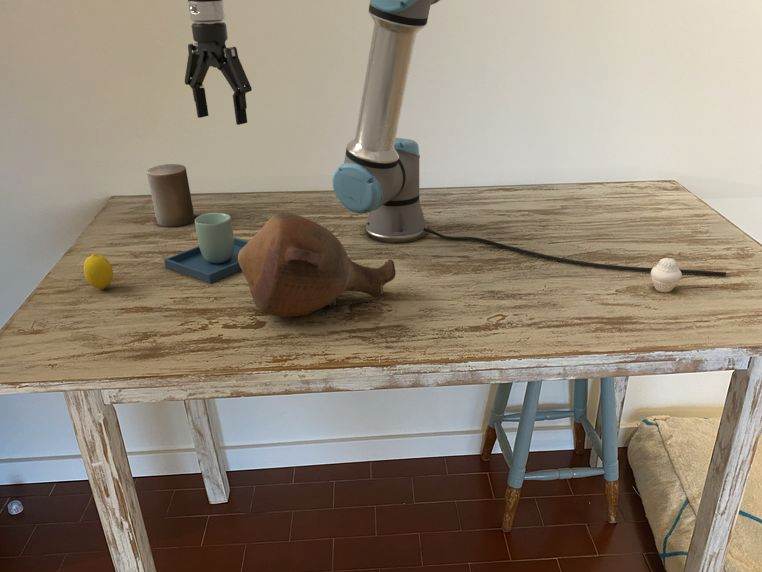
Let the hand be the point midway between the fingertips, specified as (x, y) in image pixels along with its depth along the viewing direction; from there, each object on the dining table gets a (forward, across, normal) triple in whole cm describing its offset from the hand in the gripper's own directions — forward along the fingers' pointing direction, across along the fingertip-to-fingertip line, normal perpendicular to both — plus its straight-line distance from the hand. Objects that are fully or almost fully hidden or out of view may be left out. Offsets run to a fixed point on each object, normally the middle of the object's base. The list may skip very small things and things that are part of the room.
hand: (222, 120), depth 168 cm
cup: (+26, +14, -18) cm, 35 cm away
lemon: (+27, +5, -42) cm, 50 cm away
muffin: (+27, +102, +25) cm, 108 cm away
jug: (+27, +49, -22) cm, 60 cm away
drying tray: (+27, +14, -18) cm, 35 cm away
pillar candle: (+27, -17, -6) cm, 32 cm away
